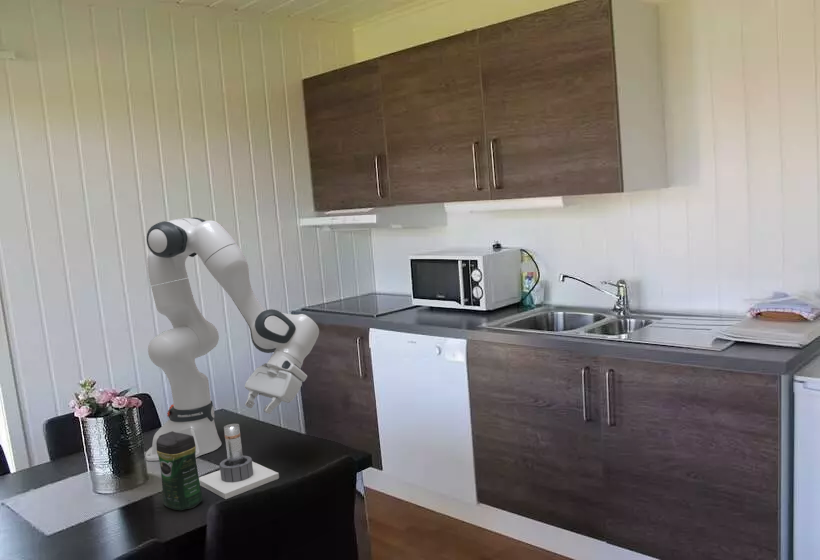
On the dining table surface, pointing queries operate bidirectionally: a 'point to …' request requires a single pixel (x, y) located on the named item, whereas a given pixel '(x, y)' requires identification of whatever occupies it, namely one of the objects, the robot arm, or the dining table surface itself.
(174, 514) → the dining table surface
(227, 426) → the silver peg
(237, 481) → the collar plate
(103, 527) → the dining table surface
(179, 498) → the coffee jar
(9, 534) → the dining table surface
